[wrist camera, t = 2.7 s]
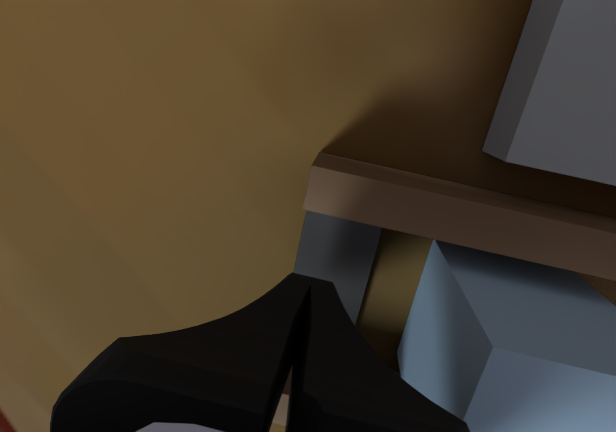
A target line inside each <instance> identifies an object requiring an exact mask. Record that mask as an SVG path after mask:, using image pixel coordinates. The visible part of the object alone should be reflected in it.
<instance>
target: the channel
mask: <svg viewBox="0 0 616 432" xmlns="http://www.w3.org/2000/svg"><path fill="white" fill-rule="evenodd" d="M303 209H304V210H307V211H306V215H305V220H304V225H303V229H302V234H301V239H300V243H299V248H298V253H297V257H296V262H295V267H294V272H293V273H297V274H301V275H305V276H309V277H314V278H318V279H322V280H327V281H331V282H333V284H334V285H335V287H336V290H337V292H338V295H339V297H340V299H341V301H342V304H343V306H344V308H345V309H346V311H347V313H348V315H349V317H350V318H351V320H352V322H353V324H354V325H355V324H356V321H357V317H358V314H359V310H360V307H361V303H362V299H363V296H364V292H365V289H366V285H367V281H368V278H369V274H370V271H371V267H372V263H373V260H374V256H375V253H376V249H377V246H378V242H379V238H380V235H381V231H382V228H387V229H391V230H395V231H400V232H404V233H409V234H413V235H417V236H422V237H426V238H430V239H435V240H439V241H443V242H448V243H452V244H457V245H461V246H465V247H470V248H474V249H478V250H483V251H487V252H491V253H496V254H500V255H505V256H509V257H513V258H518V259H522V260H526V261H531V262H535V263H539V264H544V265H548V266H553V267H557V268H561V269H566V270H570V271H574V272H579V273H583V274H587V275H592V276H596V277H600V278H605V279H609V280H614V281H616V218H614V217H609V216H605V215H600V214H596V213H591V212H587V211H582V210H578V209H573V208H569V207H564V206H560V205H555V204H551V203H546V202H542V201H537V200H533V199H528V198H524V197H519V196H515V195H510V194H506V193H501V192H497V191H492V190H488V189H483V188H479V187H474V186H470V185H465V184H461V183H456V182H452V181H447V180H443V179H438V178H434V177H429V176H425V175H420V174H416V173H412V172H407V171H403V170H398V169H394V168H389V167H385V166H380V165H376V164H371V163H367V162H362V161H358V160H353V159H349V158H344V157H340V156H335V155H331V154H326V153H322V152H319V154H318V155H317V157H316V159H315V161H314V162H313V164H312V166H311V171H310V176H309V181H308V185H307V190H306V195H305V200H304V204H303ZM393 371H394V372H396V373H397V374H398V375H399V376H400V377H401V374H400V372H399V371H395V370H393ZM291 373H292V367H291V370H290V373H289V376H288V379H287V381H286V384H285V387H284V390H283V393H282V396H281V399H280V401H279V404H278V407H277V410H276V413H275V416H274V419H273V421H272V423H276V424H279V425H283V426H286V419H287V409H288V400H289V391H290V382H291Z"/></svg>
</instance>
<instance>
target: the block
mask: <svg viewBox="0 0 616 432" xmlns="http://www.w3.org/2000/svg"><path fill="white" fill-rule="evenodd" d="M397 356H398V362H399V368H400V374H401V378H402V379H403V380H405V381H406V382H407V383H408V384H410V385H411V386H412V387H413V388H415V389H416V390H417V391H419V392H420V393H421V394H423V395H424V396H425V397H427V398H428V399H429V400H431V401H432V402H434V403H435V404H437V405H439V406H440V407H442V408H443V409H445V410H447V411H448V412H450V413H451V414H453V415H455V416H456V417H458V418H459V419H461V420H463V421H464V422H466V423H467V425H468V427H469V430H470V432H616V306H615V305H614V304H613V303H611V302H610V301H609V300H608V299H606V298H605V297H604V296H603V295H602V294H600V293H599V292H598V291H597V290H595V289H594V288H593V287H592V286H590V285H589V284H588V283H587V282H586V281H584V280H583V279H582V278H581V277H579V276H578V275H577V274H576V273H575V272H573V271H570V270H566V269H561V268H557V267H553V266H548V265H544V264H539V263H535V262H531V261H526V260H522V259H518V258H513V257H509V256H505V255H500V254H496V253H491V252H487V251H483V250H478V249H474V248H470V247H465V246H461V245H457V244H452V243H448V242H443V241H439V240H435V239H433V242H432V245H431V248H430V251H429V254H428V257H427V260H426V264H425V267H424V270H423V273H422V276H421V279H420V282H419V285H418V288H417V291H416V294H415V297H414V301H413V304H412V307H411V310H410V313H409V316H408V319H407V322H406V325H405V328H404V331H403V334H402V337H401V341H400V344H399V347H398V350H397Z"/></svg>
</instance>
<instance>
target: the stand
mask: <svg viewBox="0 0 616 432" xmlns="http://www.w3.org/2000/svg"><path fill="white" fill-rule="evenodd" d="M482 151H483V152H485V153H488V154H490V155H492V156H494V157H496V158H499V159H501V160H503V161H505V162H510V163H514V164H519V165H523V166H528V167H532V168H537V169H542V170H546V171H551V172H555V173H560V174H564V175H569V176H573V177H578V178H583V179H587V180H592V181H596V182H601V183H605V184H610V185H614V186H616V0H533V1H532V4H531V7H530V10H529V13H528V16H527V19H526V22H525V25H524V28H523V30H522V33H521V36H520V39H519V42H518V45H517V48H516V51H515V54H514V57H513V60H512V63H511V66H510V69H509V72H508V75H507V78H506V81H505V84H504V87H503V89H502V92H501V95H500V98H499V101H498V104H497V107H496V110H495V113H494V116H493V119H492V122H491V125H490V128H489V131H488V134H487V137H486V140H485V143H484V146H483V148H482Z"/></svg>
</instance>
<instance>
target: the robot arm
mask: <svg viewBox="0 0 616 432" xmlns="http://www.w3.org/2000/svg"><path fill="white" fill-rule="evenodd" d="M291 367H292V373H291V382H290V391H289V400H288V409H287V419H286V428H285V432H470V430H469V427H468V425H467V423H466V422H464V421H463V420H461V419H459V418H458V417H456V416H455V415H453V414H451V413H450V412H448V411H447V410H445V409H443V408H442V407H440V406H439V405H437V404H435V403H434V402H432V401H431V400H429V399H428V398H427V397H425V396H424V395H423V394H421V393H420V392H419V391H417V390H416V389H415V388H413V387H412V386H411V385H410V384H408V383H407V382H406V381H405V380H403V379H402V378H401V377H400V376H399V375H398V374H397V373H396V372H394V371H393V370H392V369H391V368H390V367H389V366H388V365H387V364H386V363H385V362H384V361H383V360H382V359H381V358H380V357H379V356H378V355H377V354H376V353H375V351H374V350H373V349H372V348H371V347H370V346H369V344H368V343H367V342H366V341H365V339H364V338H363V337H362V336H361V334H360V333H359V331H358V330H357V328H356V327H355V325H354V324H353V322H352V320H351V318H350V317H349V315H348V313H347V311H346V309H345V308H344V306H343V304H342V301H341V299H340V297H339V295H338V292H337V290H336V287H335V285H334V284H333V282H331V281H327V280H322V279H318V278H314V277H309V276H305V275H301V274H297V273H291V274H289V275H288V276H287V277H286V278H284V279H283V280H282V281H281V282H280V283H279V284H278V285H276V286H275V287H274V288H272V289H271V290H270V291H268V292H267V293H266V294H264V295H263V296H262V297H260V298H259V299H257V300H255V301H254V302H252V303H250V304H249V305H247V306H246V307H244V308H242V309H240V310H238V311H236V312H234V313H232V314H229V315H227V316H225V317H222V318H219V319H216V320H213V321H210V322H207V323H204V324H201V325H198V326H194V327H190V328H186V329H182V330H177V331H172V332H166V333H160V334H152V335H142V336H133V337H120V338H118V339H117V340H116V341H114V342H113V343H112V344H111V345H110V346H108V347H107V348H106V349H105V350H104V351H103V352H101V353H100V354H99V355H98V356H97V357H96V358H95V359H94V360H93V361H92V362H91V363H90V364H89V365H88V366H87V367H86V368H85V369H84V370H83V371H82V372H81V373H80V374H79V375H78V376H77V377H76V378H75V379H74V380H73V381H72V382H71V384H70V385H69V386H68V387H67V388H66V389H65V390H64V391H63V392H62V393H61V394H60V396H59V398H58V400H57V401H56V403H55V405H54V406H53V410H52V416H51V422H50V432H269V430H270V427H271V424H272V421H273V419H274V416H275V413H276V410H277V407H278V404H279V401H280V399H281V396H282V393H283V390H284V387H285V384H286V381H287V379H288V376H289V373H290V370H291Z"/></svg>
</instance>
